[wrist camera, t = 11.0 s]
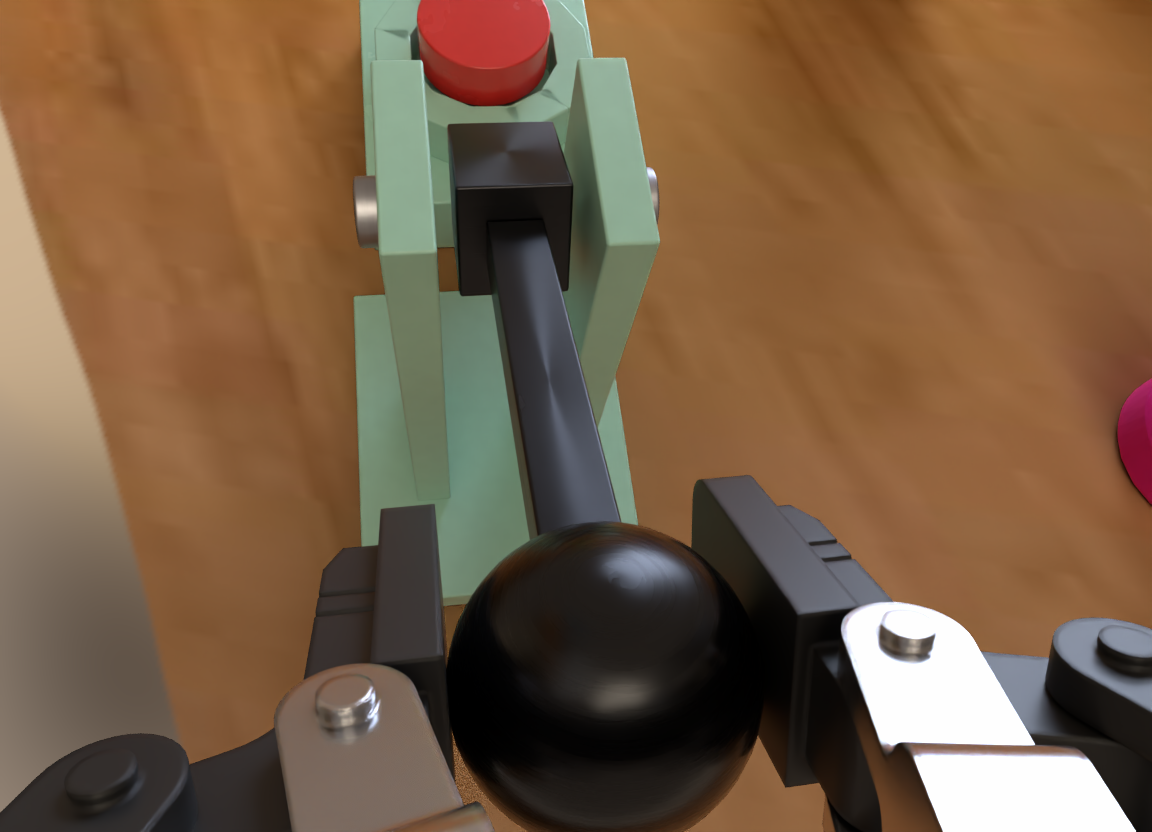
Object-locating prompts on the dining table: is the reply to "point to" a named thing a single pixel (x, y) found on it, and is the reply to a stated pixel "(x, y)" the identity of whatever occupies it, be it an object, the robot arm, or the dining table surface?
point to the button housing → (395, 37)
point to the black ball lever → (580, 560)
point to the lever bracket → (486, 323)
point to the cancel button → (484, 48)
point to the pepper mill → (1137, 438)
